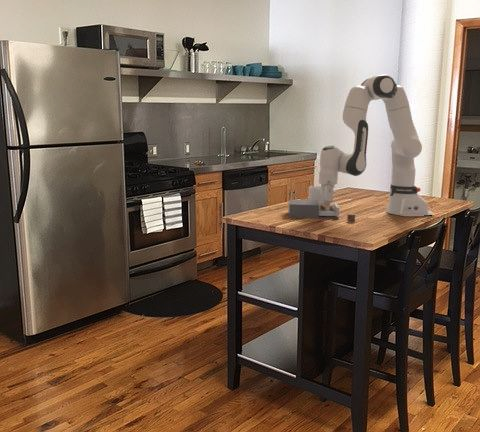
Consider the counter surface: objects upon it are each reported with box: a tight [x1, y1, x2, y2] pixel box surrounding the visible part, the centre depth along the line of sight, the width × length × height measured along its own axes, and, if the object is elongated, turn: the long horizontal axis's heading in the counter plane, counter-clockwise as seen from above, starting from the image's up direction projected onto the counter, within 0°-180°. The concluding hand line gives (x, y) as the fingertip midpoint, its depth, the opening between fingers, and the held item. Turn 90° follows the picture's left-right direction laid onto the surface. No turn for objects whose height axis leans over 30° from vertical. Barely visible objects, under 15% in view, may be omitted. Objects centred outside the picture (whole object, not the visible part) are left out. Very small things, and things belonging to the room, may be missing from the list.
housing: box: [288, 199, 339, 220], centre depth 262 cm, size 23×13×6 cm, turn 87°
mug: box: [307, 185, 324, 208], centre depth 281 cm, size 12×9×11 cm
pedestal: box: [346, 212, 356, 223], centre depth 250 cm, size 3×3×4 cm
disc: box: [320, 203, 334, 210], centre depth 261 cm, size 6×6×2 cm
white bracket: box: [319, 202, 340, 218], centre depth 261 cm, size 14×13×5 cm
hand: (326, 208), depth 261 cm, fingers closed on disc, 6 cm apart
